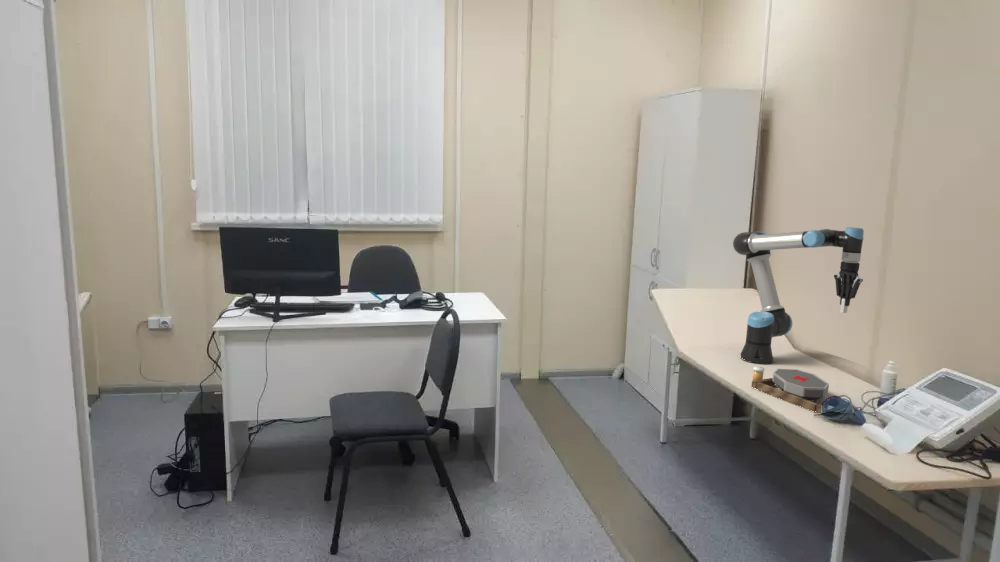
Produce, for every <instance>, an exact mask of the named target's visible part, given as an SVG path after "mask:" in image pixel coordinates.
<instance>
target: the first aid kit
mask: <svg viewBox="0 0 1000 562" xmlns="http://www.w3.org/2000/svg"><path fill="white" fill-rule="evenodd" d="M772 373H773V374H772V378H773V380H772V381H773V382H774V383H775V386H777V387H778V389H779V390H783V391H785V392H787V393H790V394H793V395H795V396H798V397H801V398H803V399H806V400H814V401H813V402H817V401H820V400H822V399H824V398H826V396H827V395H828V393H829V386H830V383H828V382H827V381H825V380H824V379H823V378H821V377H819V376H818V375H817V374H815V373H811V372H807V371H804V370H801V369H798V368H797V369H793V368H792V369H791V368H777V369H776V370H774V372H772Z"/></svg>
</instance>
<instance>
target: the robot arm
mask: <svg viewBox="0 0 1000 562" xmlns="http://www.w3.org/2000/svg"><path fill="white" fill-rule="evenodd" d="M864 233H865V231H864V228H861V227H852V226H851V227H850V226H849V227H848V226H847V227H845V230H836V229H830V228H825V229H823V228H821V229H819V230H817V229H815V230H813V229H811V230H808V231H807V230H806V231H792V232H780V233H766V232H764V231H756V230H755V231H743V232H740V233H738V234H737V235H736V236H735V237H734V239H733V242H732V246H733V249H734V250H735V252H736V253H738V254H739V255H742V256H745V257H746V261H747V262H749V263H750V264H751V268H752V273H753V275H754V279H755V285H756V288H757V292H758V296H759V301H760V305H761V310H760V311H753V312H751V313H750V314H749V315H748V319H747V327H746V337H745V343H744V346H743V348H742V350H741V352H740V356H741V358H743V359H745V360H747V361H751V362H755V363H754V364H757V363H761V364H760V365H769V363H770V364H772V362H774V355H773V351H772V339H773V338H776V337H782V336H785V335H787V334H788V333H790V331H791V330H792V327H793V319H792V317H791V315H790V314H789V313H787V312H786V310H785V307H784V306H783V305H781V303H780V300H779V299H780V298H779V294H778V292H777V287H776V284H775V279H774V276H773V272H772V271H773V270H772V266H771V263H770V258H771V255H772V254H771V251H772V250H787V249H788V250H789V249H790V250H791V249H806V248H811V249H812V248H823V247H835V248H842V252H841V262H840V266H839V267H840V270H839V272H838V273H837V274H834V275H833V277H834V280H835V281H834V282H835V290H836V293H835V294H836V296H837V297H839V298H840V299H839V304H840V310H839V313H841V314H846V313H848V309H849V308H848V307H850V304H851V299H856V296H857V293H858V290H859V288H860V285H861V283H862V282H864V279H863V278H860V276H859V269H860V262H861V258H862V257H861V256H862V247H863V240H864V235H865V234H864ZM740 356H739V357H740ZM741 358H740V359H741ZM747 361H746V362H747ZM751 362H750V363H751Z"/></svg>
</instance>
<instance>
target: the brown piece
mask: <svg viewBox="0 0 1000 562" xmlns="http://www.w3.org/2000/svg"><path fill="white" fill-rule="evenodd" d="M772 380H773V377H770V378H763V379H762V380H756V381H753V380H752V381H751V385H750V386H751V387H753V388H756V389H758V390H760V391H759V392H761V391H762V392H761V393H763V392H764V393H763V394H766V393H767V394H766V395H768V394H769V396H771V395H772V396H771V397H774V396H775V397H774V398H776V397H777V399H779V398H780V399H779V400H781V399H782V400H781V401H784V402H786V401H787V403H790V404H792V405H794V404H795V405H794V406H797V405H798V407H799V406H801V407H800V408H802V407H803V408H802V409H804V408H806V409H805V410H807V409H809V410H808V411H810V410H812V411H814V412H813V413H816V412H817V413H821V406H822V404H823V403H821V404H819V403H816V402H815V401H809V400H806V399H803V398H801V397H798V396H795V395H793V394H790V393H787V392H785V391H782V390H781V389H780V388H776V384H775V383H774V382H773V381H772ZM771 386H772V387H771ZM751 387H750V388H751ZM753 388H752V389H753ZM756 389H755V390H756ZM758 390H757V391H758ZM812 411H811V412H812ZM815 411H816V412H815ZM817 413H816V414H817Z"/></svg>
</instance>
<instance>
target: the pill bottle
mask: <svg viewBox="0 0 1000 562" xmlns="http://www.w3.org/2000/svg"><path fill="white" fill-rule="evenodd" d="M752 370H753V372H752V373H753V375H752V381H756V380H762V379H764V372H765V368H764V367H763V366H753V369H752Z"/></svg>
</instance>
